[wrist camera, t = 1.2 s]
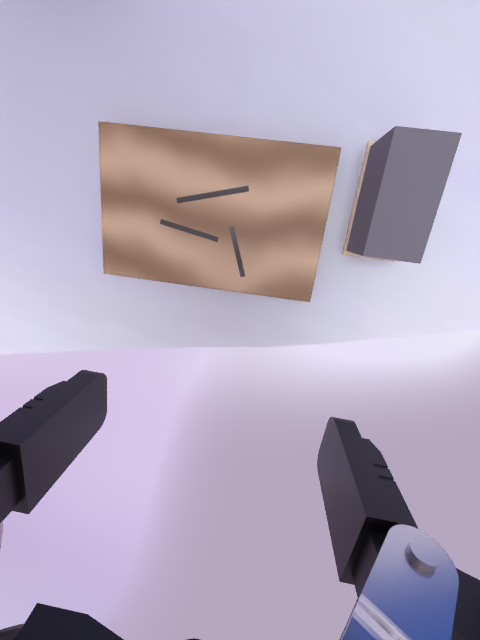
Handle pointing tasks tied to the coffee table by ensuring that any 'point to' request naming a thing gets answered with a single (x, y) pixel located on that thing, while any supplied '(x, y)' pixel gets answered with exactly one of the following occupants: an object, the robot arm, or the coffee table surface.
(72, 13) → the coffee table surface
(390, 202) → the sanding block
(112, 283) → the coffee table surface
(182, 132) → the oak board
